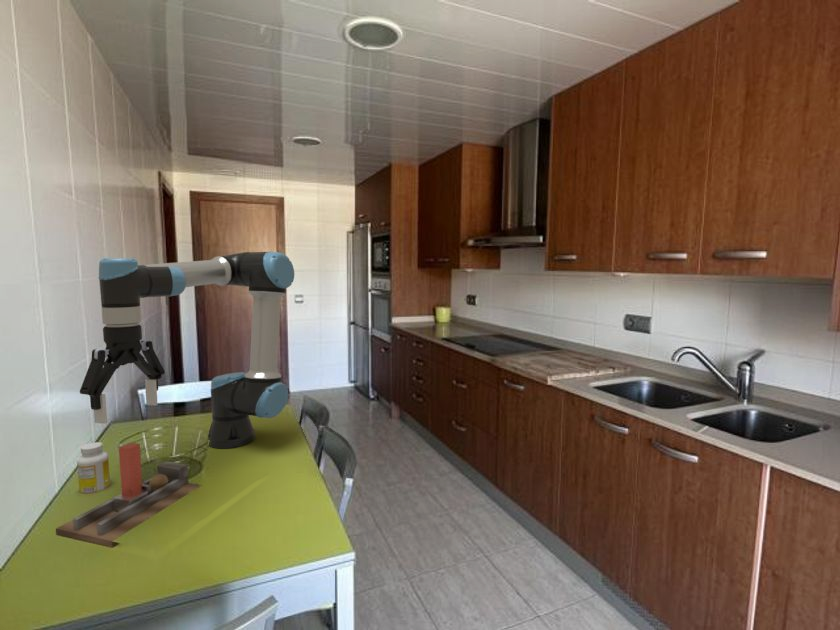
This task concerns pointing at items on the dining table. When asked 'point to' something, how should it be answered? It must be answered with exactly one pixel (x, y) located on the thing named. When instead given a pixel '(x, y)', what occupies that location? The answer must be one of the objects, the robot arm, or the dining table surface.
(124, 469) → the lever
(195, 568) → the dining table surface
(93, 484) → the supplement bottle
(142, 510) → the base
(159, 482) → the nut
